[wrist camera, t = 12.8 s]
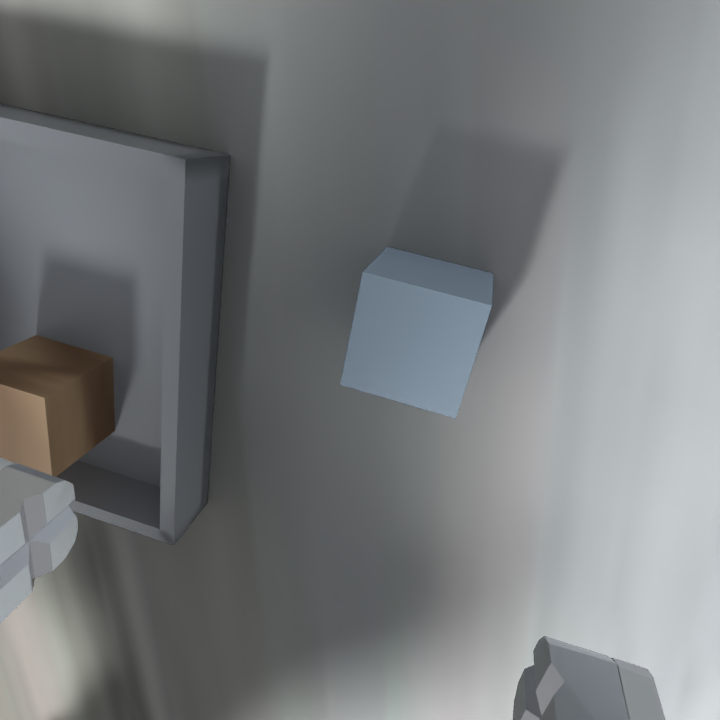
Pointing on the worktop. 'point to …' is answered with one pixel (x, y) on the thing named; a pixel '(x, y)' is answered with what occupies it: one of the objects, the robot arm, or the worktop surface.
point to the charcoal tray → (121, 298)
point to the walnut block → (53, 403)
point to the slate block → (417, 330)
